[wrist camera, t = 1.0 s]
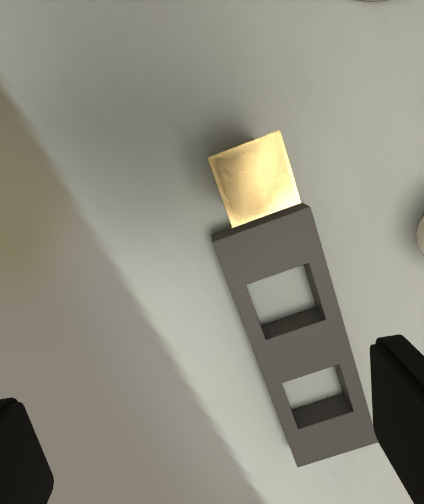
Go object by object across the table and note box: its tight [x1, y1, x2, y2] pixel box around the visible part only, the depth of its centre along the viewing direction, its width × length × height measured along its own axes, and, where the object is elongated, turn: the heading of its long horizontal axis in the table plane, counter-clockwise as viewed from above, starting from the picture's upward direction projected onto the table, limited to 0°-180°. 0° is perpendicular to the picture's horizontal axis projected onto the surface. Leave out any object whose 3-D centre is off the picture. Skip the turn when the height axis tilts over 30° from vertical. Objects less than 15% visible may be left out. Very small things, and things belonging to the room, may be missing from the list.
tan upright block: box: [207, 130, 301, 228], centre depth 24 cm, size 4×4×8 cm
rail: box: [211, 202, 378, 467], centre depth 31 cm, size 8×24×2 cm, turn 20°
